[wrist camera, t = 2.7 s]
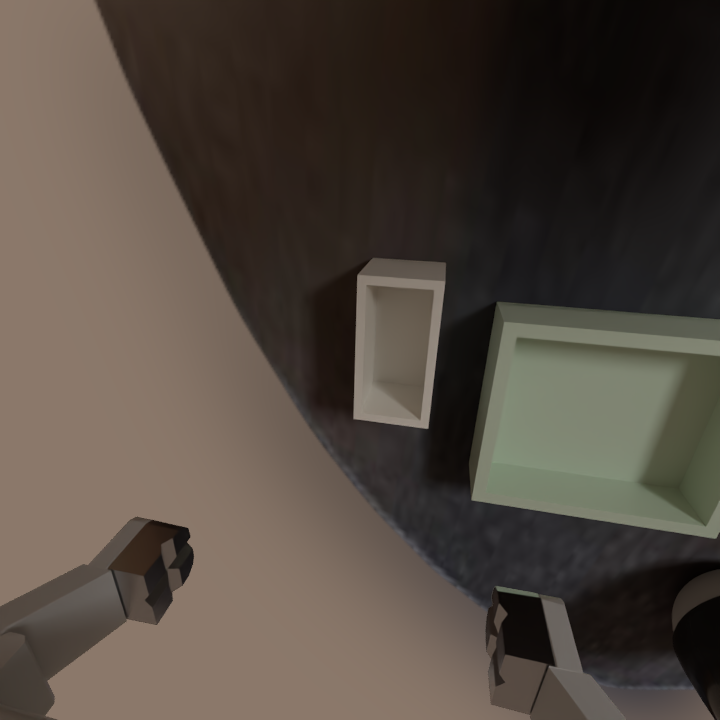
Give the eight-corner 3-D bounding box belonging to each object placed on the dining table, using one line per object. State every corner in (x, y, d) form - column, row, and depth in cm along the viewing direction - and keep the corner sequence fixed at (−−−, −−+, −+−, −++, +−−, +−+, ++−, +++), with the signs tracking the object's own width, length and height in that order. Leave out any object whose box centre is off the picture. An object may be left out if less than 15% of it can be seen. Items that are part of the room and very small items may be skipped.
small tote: (446, 262, 26) (445, 281, 21) (431, 389, 29) (428, 428, 25) (372, 257, 26) (357, 274, 22) (367, 382, 30) (353, 418, 26)
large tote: (760, 322, 24) (816, 349, 20) (682, 493, 29) (715, 538, 25) (496, 301, 26) (504, 321, 22) (468, 462, 31) (471, 500, 28)
